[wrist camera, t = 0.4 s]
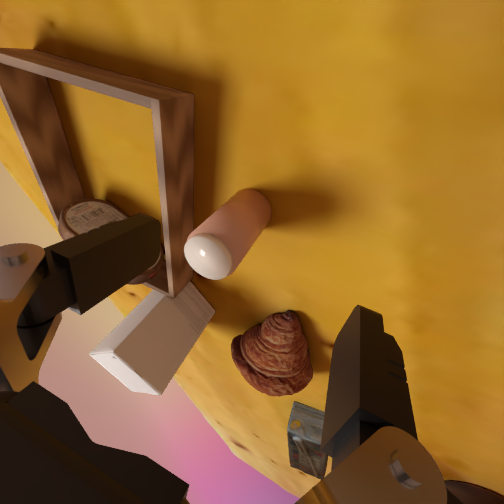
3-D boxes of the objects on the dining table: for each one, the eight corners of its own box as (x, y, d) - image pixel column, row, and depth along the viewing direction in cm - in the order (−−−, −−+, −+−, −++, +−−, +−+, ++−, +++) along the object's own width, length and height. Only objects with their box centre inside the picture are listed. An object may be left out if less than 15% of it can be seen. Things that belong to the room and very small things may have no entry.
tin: (95, 201, 39) (40, 227, 33) (97, 186, 37) (39, 211, 30) (171, 261, 40) (132, 297, 34) (177, 251, 38) (137, 287, 32)
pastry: (340, 380, 41) (333, 434, 35) (264, 374, 50) (249, 416, 44) (296, 307, 35) (278, 356, 29) (219, 315, 44) (194, 354, 38)
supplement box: (156, 283, 46) (85, 353, 35) (185, 272, 40) (111, 351, 29) (187, 318, 48) (130, 392, 37) (217, 312, 43) (161, 397, 32)
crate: (32, 49, 27) (-22, 47, 24) (193, 94, 23) (158, 100, 20) (92, 232, 44) (66, 247, 40) (193, 277, 40) (173, 299, 36)
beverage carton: (334, 413, 47) (328, 453, 43) (328, 449, 58) (324, 484, 53) (293, 398, 51) (284, 434, 46) (295, 436, 61) (288, 467, 56)
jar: (233, 182, 27) (180, 225, 20) (276, 197, 26) (235, 248, 19) (229, 220, 30) (181, 269, 23) (266, 234, 29) (229, 290, 22)
